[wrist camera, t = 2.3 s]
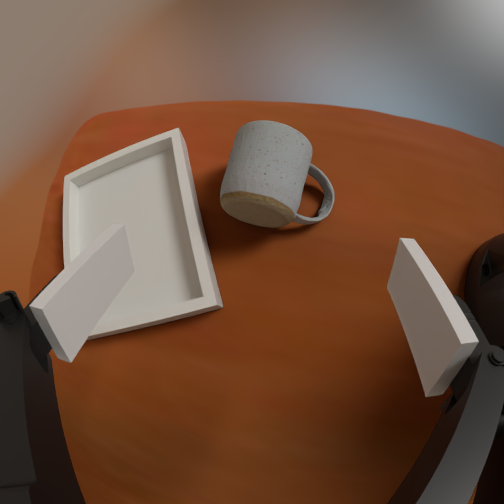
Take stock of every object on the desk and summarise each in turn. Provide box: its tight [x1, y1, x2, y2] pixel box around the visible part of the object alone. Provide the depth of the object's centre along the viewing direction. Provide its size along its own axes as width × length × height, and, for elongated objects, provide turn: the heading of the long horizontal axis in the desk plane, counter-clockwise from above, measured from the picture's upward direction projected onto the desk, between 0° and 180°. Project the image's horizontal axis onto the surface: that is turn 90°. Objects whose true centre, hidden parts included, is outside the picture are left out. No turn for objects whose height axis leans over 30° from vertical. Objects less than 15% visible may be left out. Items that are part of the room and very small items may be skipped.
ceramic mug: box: [220, 120, 334, 228], centre depth 26 cm, size 11×8×8 cm
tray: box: [63, 128, 224, 340], centre depth 29 cm, size 16×20×3 cm
